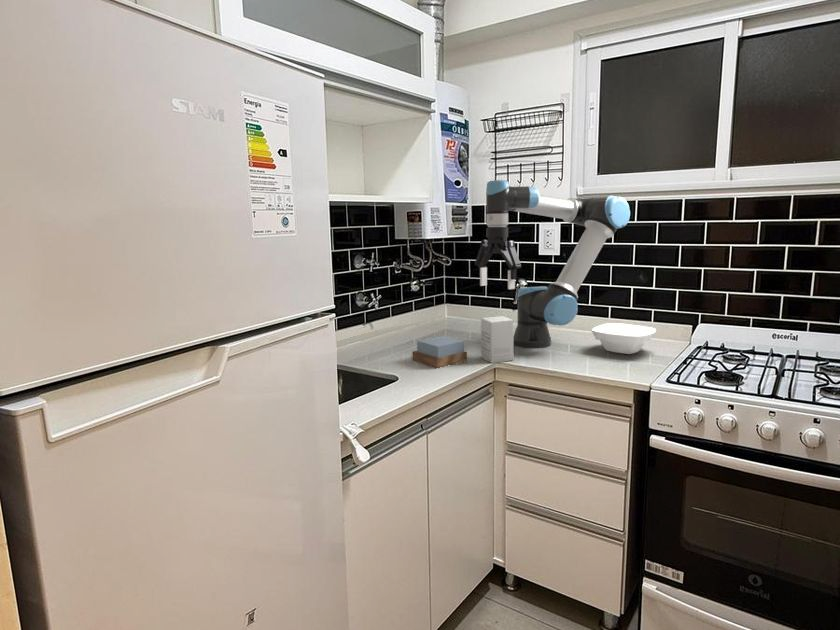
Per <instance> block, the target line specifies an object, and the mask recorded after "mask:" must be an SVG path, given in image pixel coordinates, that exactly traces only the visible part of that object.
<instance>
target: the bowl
mask: <svg viewBox="0 0 840 630" xmlns="http://www.w3.org/2000/svg"><path fill="white" fill-rule="evenodd" d="M656 332H657V329H656V328H655V327H650V326H645V325H638V324H637V325H636V324H630V323H619V322H618V323H617V322H616V323H615V322H609V323H603V324H600V325H597V326H595V327H593V328H592V329H591V333H592V334H593V336H594V337H595V339H596V340H597V341H598V340H599V341H600V343H601V345H602V346H603V348H604V350H605V351H608V352H612V353H618V354H627V355H631V354H636V353H639V351H640V350H641V349H642V347H643V346H644V344H645V343H647V342H649V341H650V340H652V338H653V337H654V335H655V334H656Z"/></svg>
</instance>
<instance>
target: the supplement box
mask: <svg viewBox="0 0 840 630" xmlns="http://www.w3.org/2000/svg"><path fill="white" fill-rule="evenodd" d="M513 336H514V320H513V319H511V318H509V317H506V316H503V315H500V316H491V317H490V316H489V317H480V349H481V353H480V354H481V355H480V356H481V359H483V360H485V361H487V362H489V363H491V364H494V363H496V364H497V363H503V362H504V361H505V362H511V361H510V360H513V361H515V360H514V344H513Z"/></svg>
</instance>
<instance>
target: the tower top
mask: <svg viewBox="0 0 840 630" xmlns="http://www.w3.org/2000/svg"><path fill="white" fill-rule="evenodd" d="M416 348H417V350H416V351H417V352H420V353H424V354H427V355H430V356H433V357H437V358H440V357H445V356H449V355H454V354H458V353H463V352H464V351H465V341H464V340H461V339H457V338H452V337H449V336H444V335H441V336H436V337H430V338H425V339H420V340H417V341H416Z"/></svg>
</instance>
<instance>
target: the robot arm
mask: <svg viewBox="0 0 840 630" xmlns="http://www.w3.org/2000/svg"><path fill="white" fill-rule="evenodd" d="M485 196H486V199H485V200H486V201H485V203H486V204H485V205H486V206H485V207H486V222H485V223H486V224H485V225H486V226H487V228H486V232H485V233H486V235H485V236H486V238H487V239H482V240H480V246H479V247H480V248H479V250H478V253H477V256H476V259H475V261H474V266H477V267H478V275H479V286H480V287H483V286H488V267H487V264H488V263H489V262H490V259H491V258H492V256H493V255H494V254H497V255H498V254H499V255H500V256H501V257H502V258H503V260H504V262H505V263H506V265H507V267H508V269H507V290H515V289H516V280H517V270H518V269H521V268H522V264H521V261H520V259H519V255H518V253H517V249H516V247H515V241H514V240H507V239H508V237H509V227H508V226H509V211H510V212H518V213H523V214H524V213H525V214H529V215H535V216H536V215H537V216H543V217H549V218H554V219H561V220H563V222H565V223H569V224H573V225H574V224H575V225H578V226H583V227H585V230H584V232H583V233H582V235H581V237H580V239H579V241H578V242H577V244H576V246H575V247H574V250H573V251H572V252H571V255H570V256H569V258H568V259H567V262H566V263H565V265H564V267H563V268H562V270H561V272H560V274H559V276H558V278H557V279H556V281H554V282H550V283H549V284H548V286H545V285H544V286H543V285H541V286H528V287H520V288H518V290H517V296H516V297H517V299H516V300H517V324H516V327H515V331H514V333H513V346H516V347H522V348H529V349H530V348H531V349H536V348H537V349H539V348H545V347H549V346H551V345H552V337H551V334H550V330H549V326H548V324H549V325H553V326H560V327H561V326H566V325H568V324H569V323H571V322H572V321H573V320H574V319H575V318H576V316H577V315H578V312H579V311H578V310H579V309H578V300H579V296H578V291H579V289H580V287H581V286H582V284H583V282H584V280H585V278H586V277H587V275H588V273H589V271H590V269H591V268H592V266H593V264H594V262H595V260H597V258H598V255H599V253H600V252H601V250H602V248H603V246H604V245H605V243H606V241H607V239H610V238H613V237H614V235H615V233H616V232H617V230H618V229H622V228H624V227H626V226H627V224H628V223H629V221H630V218H631V217H630V216H631V210H630V205H629V203H628V202H627V200H626V199H625V198H624V197H622V196H616V195H615V196H614V195H609V196H600V197H597V196H596V197H586V198H574V197H569V198H567V199H566V198H565V199H564V198H560V197H559V198H558V197H554V196H553V197H552V196H547V195H543V194H540V191H539V190H538V188H537V187H535V186H529V185H527V186H511V185H509V181H508V180H505V179H497V180H495V179H493V180H489V181H488V182H487V183H486V190H485Z"/></svg>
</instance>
